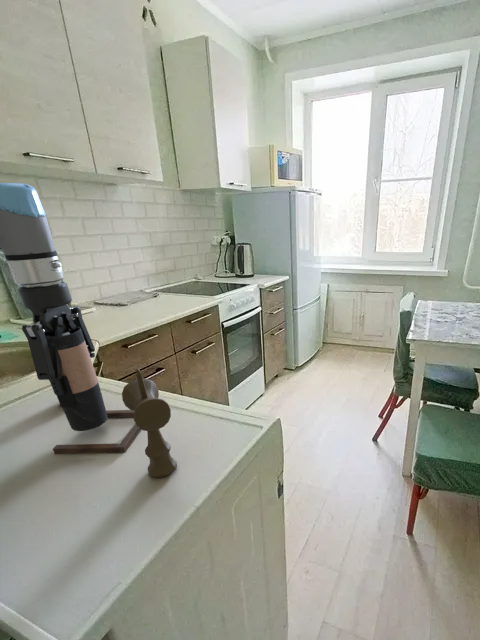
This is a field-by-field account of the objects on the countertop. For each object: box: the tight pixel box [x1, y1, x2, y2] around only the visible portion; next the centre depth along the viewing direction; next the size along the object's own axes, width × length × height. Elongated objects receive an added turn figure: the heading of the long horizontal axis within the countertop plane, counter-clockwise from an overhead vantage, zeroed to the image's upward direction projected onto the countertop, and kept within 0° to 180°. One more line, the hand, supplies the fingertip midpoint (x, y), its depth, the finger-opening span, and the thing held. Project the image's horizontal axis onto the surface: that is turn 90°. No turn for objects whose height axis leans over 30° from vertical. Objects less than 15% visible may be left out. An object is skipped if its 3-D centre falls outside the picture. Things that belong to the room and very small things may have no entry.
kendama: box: [121, 368, 178, 478], centre depth 59 cm, size 6×10×20 cm, turn 33°
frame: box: [52, 409, 142, 455], centre depth 76 cm, size 14×15×1 cm
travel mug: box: [46, 327, 108, 432], centre depth 71 cm, size 8×8×20 cm
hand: (81, 396), depth 72 cm, fingers closed on travel mug, 8 cm apart
